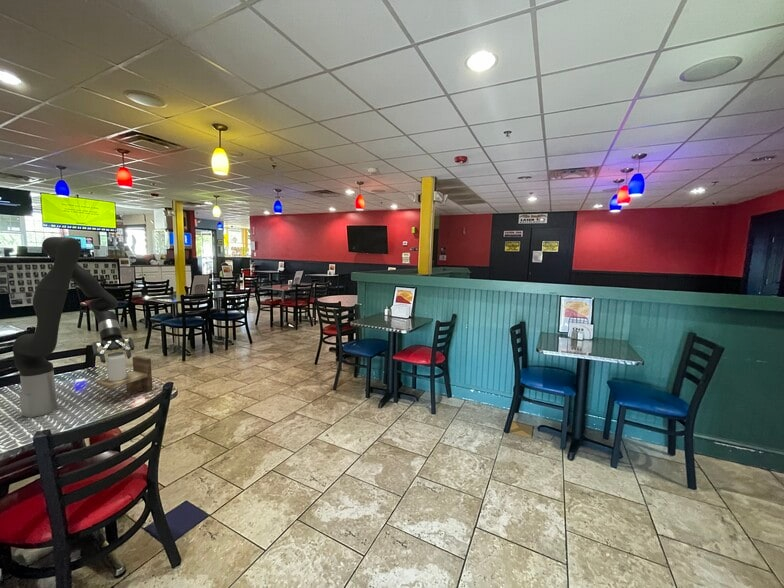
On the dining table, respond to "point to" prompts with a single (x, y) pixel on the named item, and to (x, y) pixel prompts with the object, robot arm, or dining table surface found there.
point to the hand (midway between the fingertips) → (117, 360)
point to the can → (116, 366)
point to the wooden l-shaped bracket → (134, 377)
